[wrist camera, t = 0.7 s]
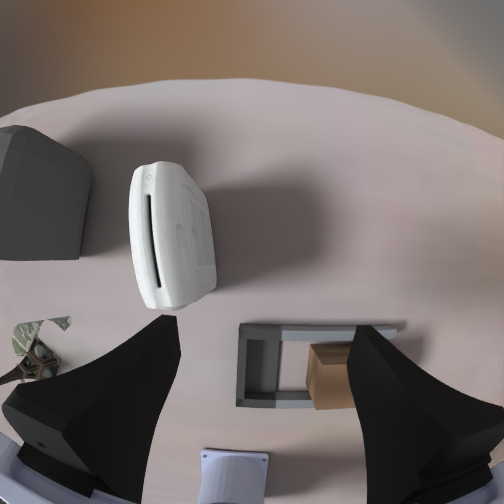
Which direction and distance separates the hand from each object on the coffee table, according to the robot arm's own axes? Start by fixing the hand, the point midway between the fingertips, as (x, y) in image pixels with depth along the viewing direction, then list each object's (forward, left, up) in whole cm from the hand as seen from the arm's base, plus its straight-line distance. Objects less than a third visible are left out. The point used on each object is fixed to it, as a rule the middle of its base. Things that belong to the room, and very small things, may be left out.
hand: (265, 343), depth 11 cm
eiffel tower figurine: (-11, +28, -18) cm, 35 cm away
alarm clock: (+8, +27, -18) cm, 33 cm away
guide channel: (-8, -6, -17) cm, 20 cm away
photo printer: (+4, +7, -18) cm, 19 cm away
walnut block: (-8, -9, -17) cm, 21 cm away
